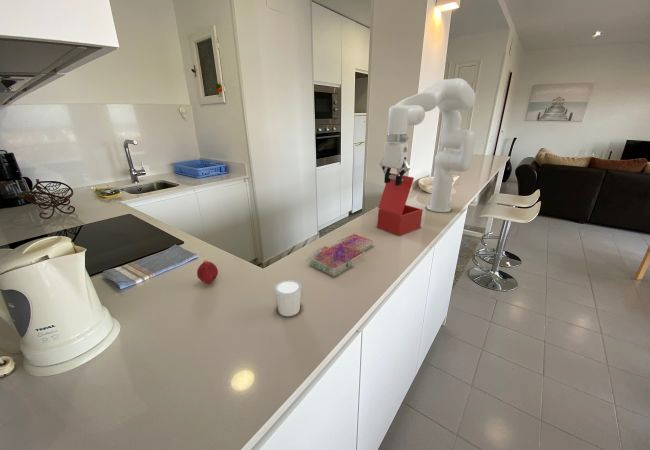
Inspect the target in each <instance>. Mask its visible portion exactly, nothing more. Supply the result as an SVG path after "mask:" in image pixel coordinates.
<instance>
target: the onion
mask: <svg viewBox="0 0 650 450" xmlns="http://www.w3.org/2000/svg"><path fill="white" fill-rule="evenodd" d="M218 274H219V269H218V267H217V266H216V264H215V263H214V262H211V261H209V260H207V259H203V262H202V263H200V265H198V268H197V271H196V275H197V276H196V277H197V278H198V279H199V280H200V282H203V283H206V284H211V283H212V282H214V281H215V280H216V279H217V277H218Z"/></svg>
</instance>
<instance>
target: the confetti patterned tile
mask: <svg viewBox="0 0 650 450" xmlns="http://www.w3.org/2000/svg"><path fill="white" fill-rule="evenodd" d="M373 241H374V240H373V239H371V238H367V237H364V236H362V235H359V234H357V233H354V232H353V233H352V234H350V235H347V236H345V237H342V238H339V239H338V240H337V242H336V243H334V244H332V245H330V246H329V245H323V246H320V247H319V248H316V249H314V250H312V253H313V254H311V255H309V256H307V259H305V261H306V262H309V263H310V262H311V266H313V267H316V266H318V267H317V269H318V270H320V271H322V272H324V273H327V274H328V275H330V276H332V277H335V276H337V275H339V274H341V273H343V272H344V271H346V270H347V269H349V268H351V266H352V262H353V261H354V260H356V259H358V258H360V257H361V256H363V255H365V254H366V251H367V250H369V249H371V248H372V247H373V243H374V242H373ZM343 265H348V267H346V268H345V266H343ZM338 269H339V272H336V270H338ZM342 269H344V270H342ZM331 270H332V271H331ZM334 272H336V274H334Z"/></svg>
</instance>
